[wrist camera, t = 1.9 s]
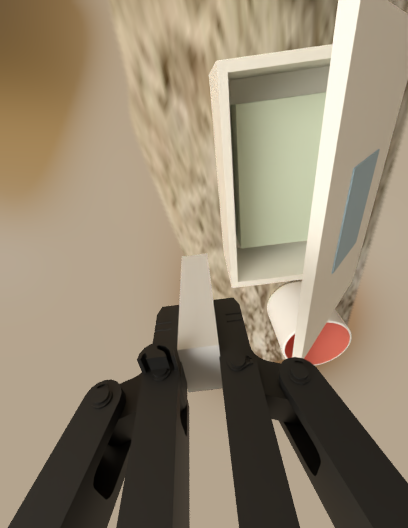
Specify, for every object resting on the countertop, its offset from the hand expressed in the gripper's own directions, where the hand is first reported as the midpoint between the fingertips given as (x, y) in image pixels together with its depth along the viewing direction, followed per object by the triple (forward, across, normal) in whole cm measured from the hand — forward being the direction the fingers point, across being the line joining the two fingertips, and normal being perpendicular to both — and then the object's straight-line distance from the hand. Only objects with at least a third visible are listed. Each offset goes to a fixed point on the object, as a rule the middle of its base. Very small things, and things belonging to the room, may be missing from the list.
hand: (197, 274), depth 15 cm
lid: (+6, +12, 0) cm, 14 cm away
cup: (+21, +15, -22) cm, 34 cm away
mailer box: (+21, +10, 0) cm, 23 cm away
